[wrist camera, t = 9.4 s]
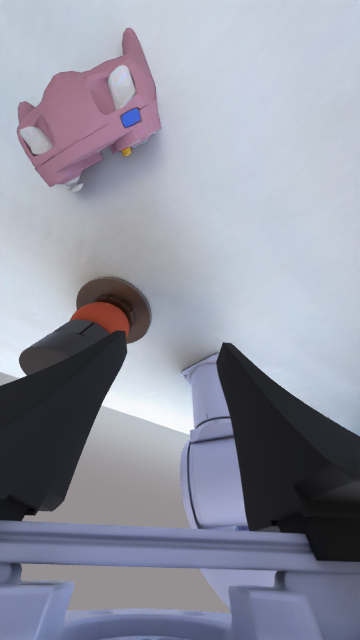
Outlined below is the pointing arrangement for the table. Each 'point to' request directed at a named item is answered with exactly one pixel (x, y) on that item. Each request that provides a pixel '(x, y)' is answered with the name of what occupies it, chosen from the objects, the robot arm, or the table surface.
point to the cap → (61, 345)
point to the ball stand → (119, 303)
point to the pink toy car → (90, 116)
